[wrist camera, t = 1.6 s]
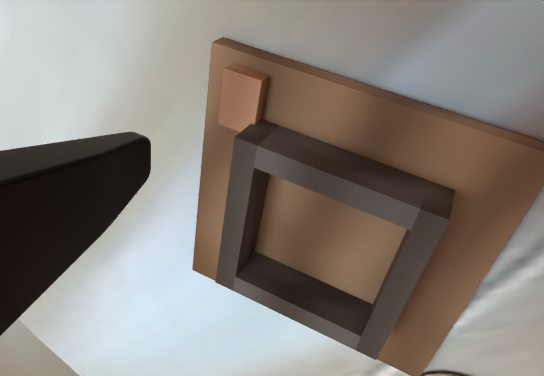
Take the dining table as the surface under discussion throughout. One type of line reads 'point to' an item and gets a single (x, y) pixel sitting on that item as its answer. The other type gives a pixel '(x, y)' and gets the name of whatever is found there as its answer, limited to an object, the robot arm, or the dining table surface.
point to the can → (441, 374)
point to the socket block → (353, 202)
